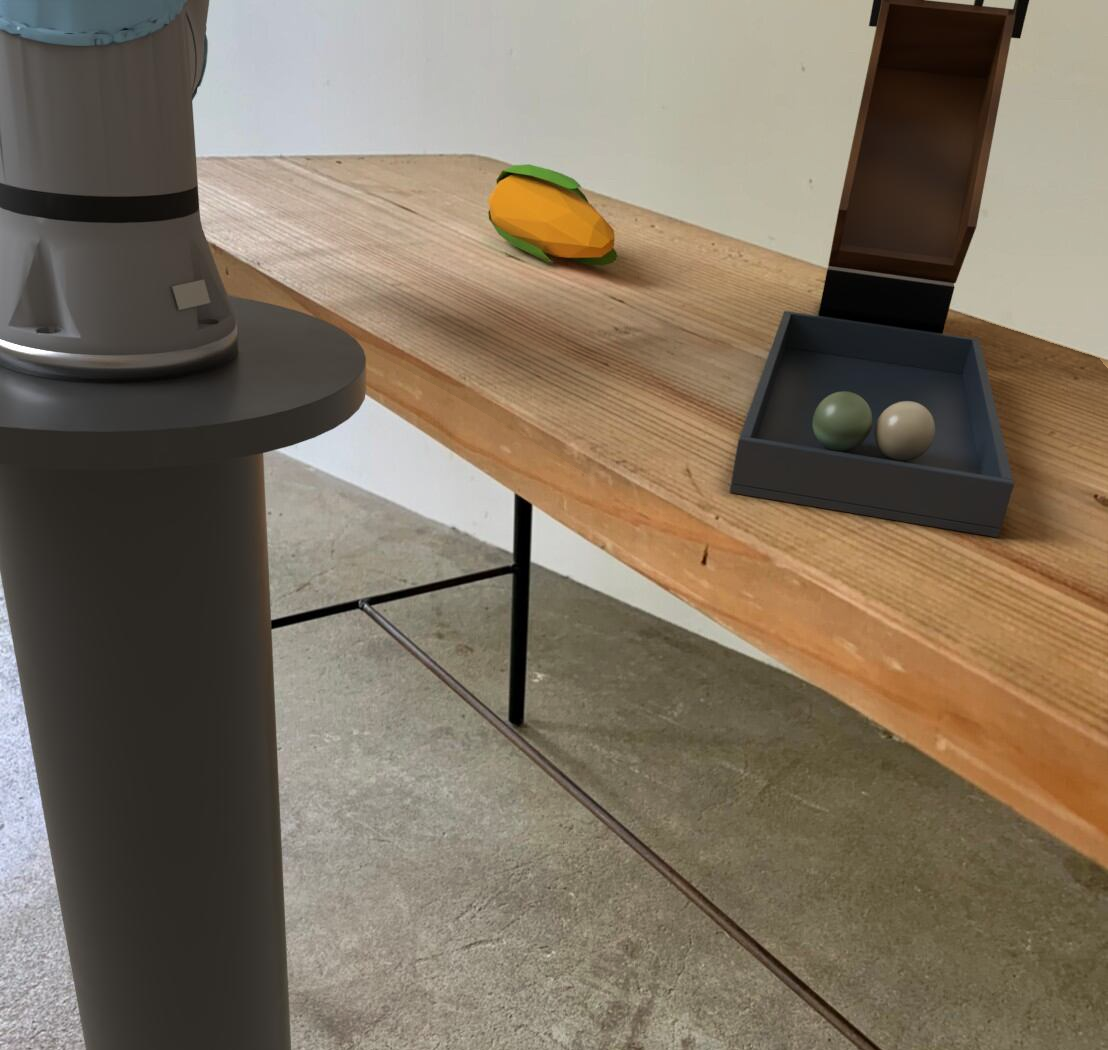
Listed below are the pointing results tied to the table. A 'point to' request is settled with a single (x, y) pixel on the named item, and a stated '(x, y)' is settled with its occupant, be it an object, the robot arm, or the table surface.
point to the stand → (886, 299)
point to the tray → (881, 380)
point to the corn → (549, 216)
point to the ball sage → (842, 421)
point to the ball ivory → (904, 431)
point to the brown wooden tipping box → (922, 139)
